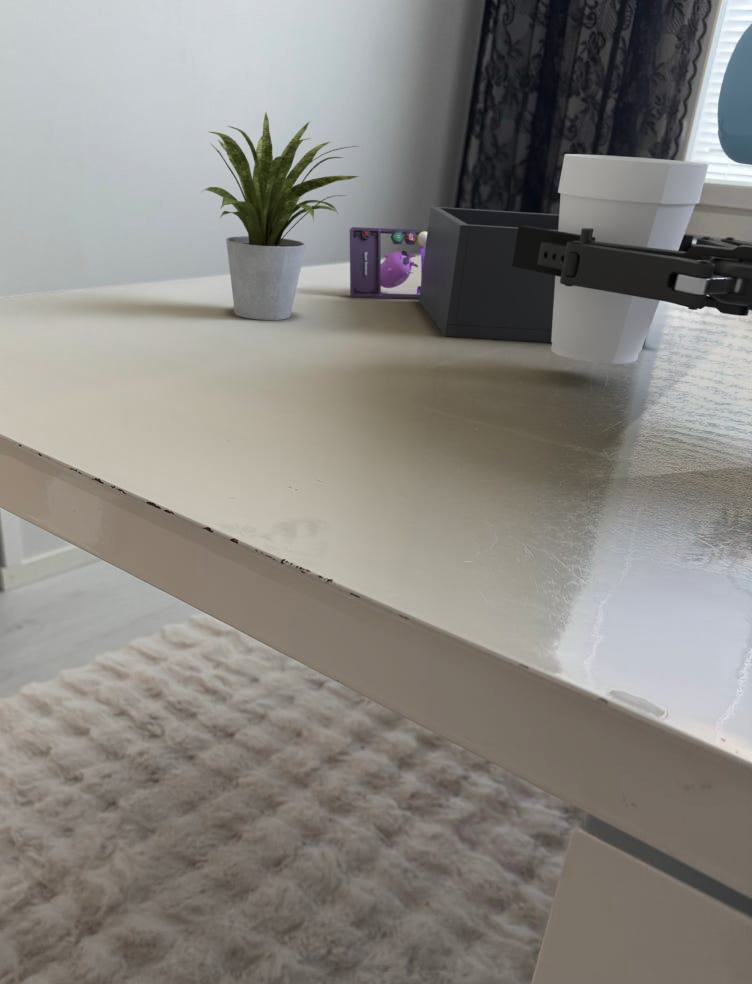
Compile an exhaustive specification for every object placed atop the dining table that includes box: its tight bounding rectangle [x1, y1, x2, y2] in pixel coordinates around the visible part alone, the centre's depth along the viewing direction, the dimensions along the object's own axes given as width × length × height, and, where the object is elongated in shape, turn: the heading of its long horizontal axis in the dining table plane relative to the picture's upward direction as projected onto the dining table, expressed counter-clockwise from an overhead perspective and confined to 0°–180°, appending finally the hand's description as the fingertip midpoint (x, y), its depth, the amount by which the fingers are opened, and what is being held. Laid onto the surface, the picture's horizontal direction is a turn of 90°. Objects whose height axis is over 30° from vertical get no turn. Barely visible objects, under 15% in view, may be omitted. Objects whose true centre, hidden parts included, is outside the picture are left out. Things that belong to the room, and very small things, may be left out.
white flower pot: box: [550, 153, 710, 365], centre depth 68 cm, size 10×9×13 cm
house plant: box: [201, 111, 359, 321], centre depth 82 cm, size 14×14×16 cm
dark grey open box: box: [418, 206, 647, 349], centre depth 89 cm, size 18×18×9 cm
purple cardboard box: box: [349, 226, 428, 299], centre depth 101 cm, size 7×5×9 cm
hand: (568, 244), depth 71 cm, fingers closed on white flower pot, 9 cm apart
